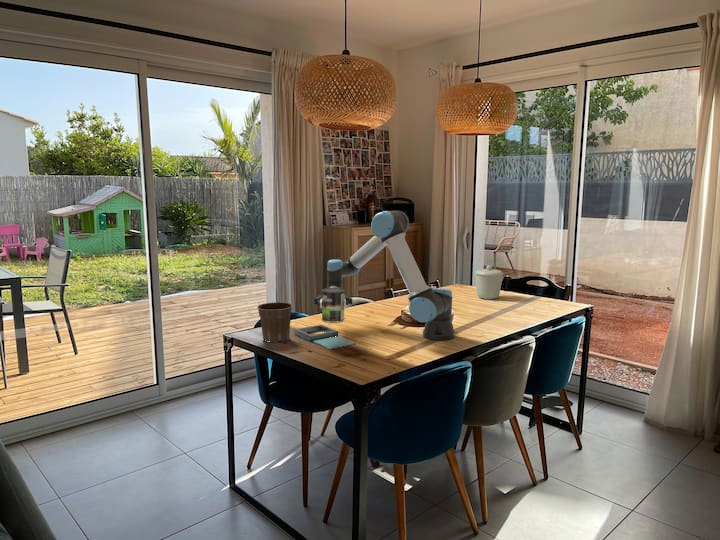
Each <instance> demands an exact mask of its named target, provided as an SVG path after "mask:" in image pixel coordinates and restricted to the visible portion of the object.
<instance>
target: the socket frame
mask: <svg viewBox="0 0 720 540" xmlns="http://www.w3.org/2000/svg"><path fill="white" fill-rule="evenodd" d="M319 330H322V331H321V332H322V333H316V334H310V333H314V332H313V331H316V332H320V331H319ZM293 331H294V332H293V333H295V334H296V336H297V335H298V337H299V336H300V337H299V338H301V337H302V339H304V340H305V341H308V342H310V343H311V342H313V341H315V340H320V339H325V338H330V337H335V336H339V331H338V330H336V329H334V328H331V327H328V326H326V325H324V324H317V325H312V326H304V327H300V328H295V329H294V330H293ZM323 331H324V332H323ZM307 332H310V333H307ZM325 332H326V333H325ZM295 334H294V335H295Z"/></svg>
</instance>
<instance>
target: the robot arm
mask: <svg viewBox="0 0 720 540" xmlns="http://www.w3.org/2000/svg"><path fill="white" fill-rule="evenodd" d="M371 219H372V220H371V225H370V227H371V231H372V234H373V235H374V236H372V237H371V238H370V239H369V240H368V241H367V242H366V243H364V245H362V246H361V247H360V248H359V249H358V250H356V252H355V253H353V255H352V256H350V257H349V258H348V259H346V261H342V260H341V259H330V260H328V261H327V268H326V269H327V272H326V274H327V275H326V276H327V279H326V280H327V287H326V288H341V289H344V288H343V278H344V277H345V278H346V277H350V276H354V275H357V274H358V273H359V272H360V271H361V268H362V267H364V265H366V263H368V262H369V261H370V260H372V259H373V258H374V257H375V256H376V255H377V254H379V252H381V251H382V250H383V249H384V248H385V247H387V248H388V250H389V252H390V254H391V257H392V259H393V261H394V263H395V265H396V268H397V269H398V272H399V274H400V276H401V278H402V280H403V283H404V285H405V286H406V289H407V291H408V293H409V294H408V297H407V298H408V302H409V306H408V310H409V314H410V315H411V317H412V318H413V319H414V320H415V321H417V322H419V323H425V324H424V328H423V330H422V336H423V338H426V339H428V340H433V341H448V340H453V339H454V338H455V337H456V332H455V329H454V324H453V322H452V318H453V317H452V316H453V312H452V311H453V291H452V290H451V289H448V288H441V287H440V288H439V287H431V286H429V285H427V283H426V281H425V279H424V276H423V275H422V272H421V270H420V268H419V267H418V264H417V262H416V260H415V258H414V255H413V254H412V251H411V249H410V247H409V244H408V243H407V241H406V232H407V230H408V229H409V225H410V220H409V217H408V215H406V213H405V212H404V211H401V210H383V211H381V212H378V213H376V214H375V215H374V216H373V217H372V218H371ZM313 300H314V305H318V307H319V309H322V294H319V295H318V296H317V297H315V298H314V299H313ZM349 305H353V298H352V297H351V296H349V294H346V295H344V309H346V308H347V306H349Z"/></svg>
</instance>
